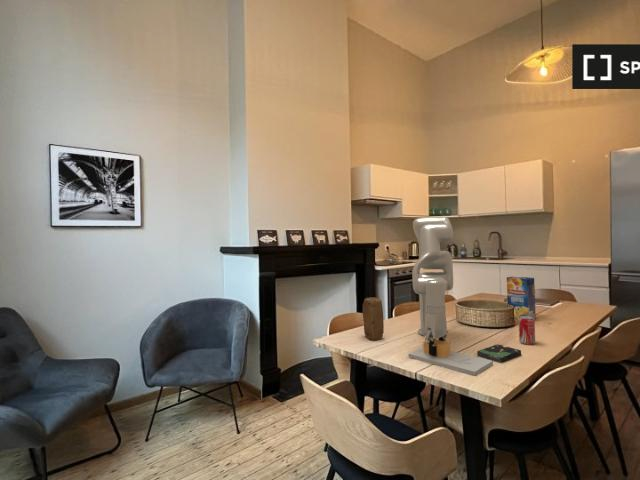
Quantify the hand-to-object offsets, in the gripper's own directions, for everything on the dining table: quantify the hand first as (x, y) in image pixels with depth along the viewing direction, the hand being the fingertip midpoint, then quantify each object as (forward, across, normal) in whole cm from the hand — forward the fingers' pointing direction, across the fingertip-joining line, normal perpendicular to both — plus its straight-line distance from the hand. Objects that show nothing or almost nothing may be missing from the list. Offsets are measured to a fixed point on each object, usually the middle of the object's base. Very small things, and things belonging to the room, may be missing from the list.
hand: (437, 352), depth 141 cm
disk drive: (+3, -19, +17) cm, 26 cm away
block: (+2, -4, -38) cm, 38 cm away
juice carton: (+2, -90, +1) cm, 90 cm away
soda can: (+2, -44, +19) cm, 48 cm away
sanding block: (+1, 0, 0) cm, 1 cm away
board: (+2, 0, +5) cm, 6 cm away
